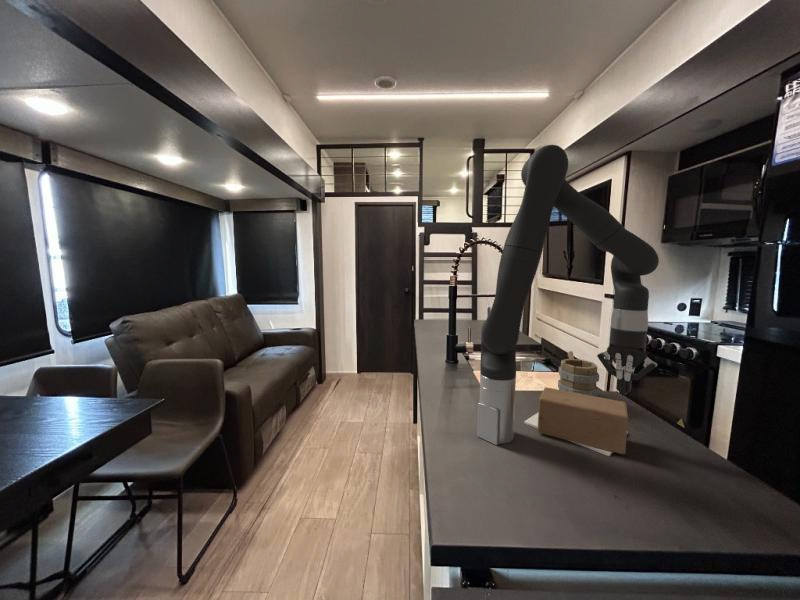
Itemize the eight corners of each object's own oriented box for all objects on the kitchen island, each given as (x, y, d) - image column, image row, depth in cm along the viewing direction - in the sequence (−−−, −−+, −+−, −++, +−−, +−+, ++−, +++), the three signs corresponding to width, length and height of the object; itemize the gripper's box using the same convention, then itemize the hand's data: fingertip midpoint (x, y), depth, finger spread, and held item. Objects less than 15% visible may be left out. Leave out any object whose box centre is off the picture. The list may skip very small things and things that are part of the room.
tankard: (602, 413, 101) (605, 367, 100) (558, 408, 105) (560, 363, 104) (588, 390, 120) (590, 351, 118) (551, 386, 124) (553, 348, 123)
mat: (609, 456, 79) (609, 454, 79) (524, 423, 95) (524, 421, 95) (627, 433, 89) (627, 431, 89) (548, 407, 106) (548, 405, 106)
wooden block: (628, 416, 77) (538, 398, 88) (625, 455, 78) (537, 432, 89) (626, 401, 85) (544, 386, 96) (623, 437, 86) (543, 418, 97)
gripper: (594, 325, 83) (589, 389, 85) (658, 333, 73) (652, 406, 75) (603, 321, 88) (599, 382, 90) (665, 328, 78) (658, 397, 80)
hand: (623, 393), depth 82 cm, fingers closed
